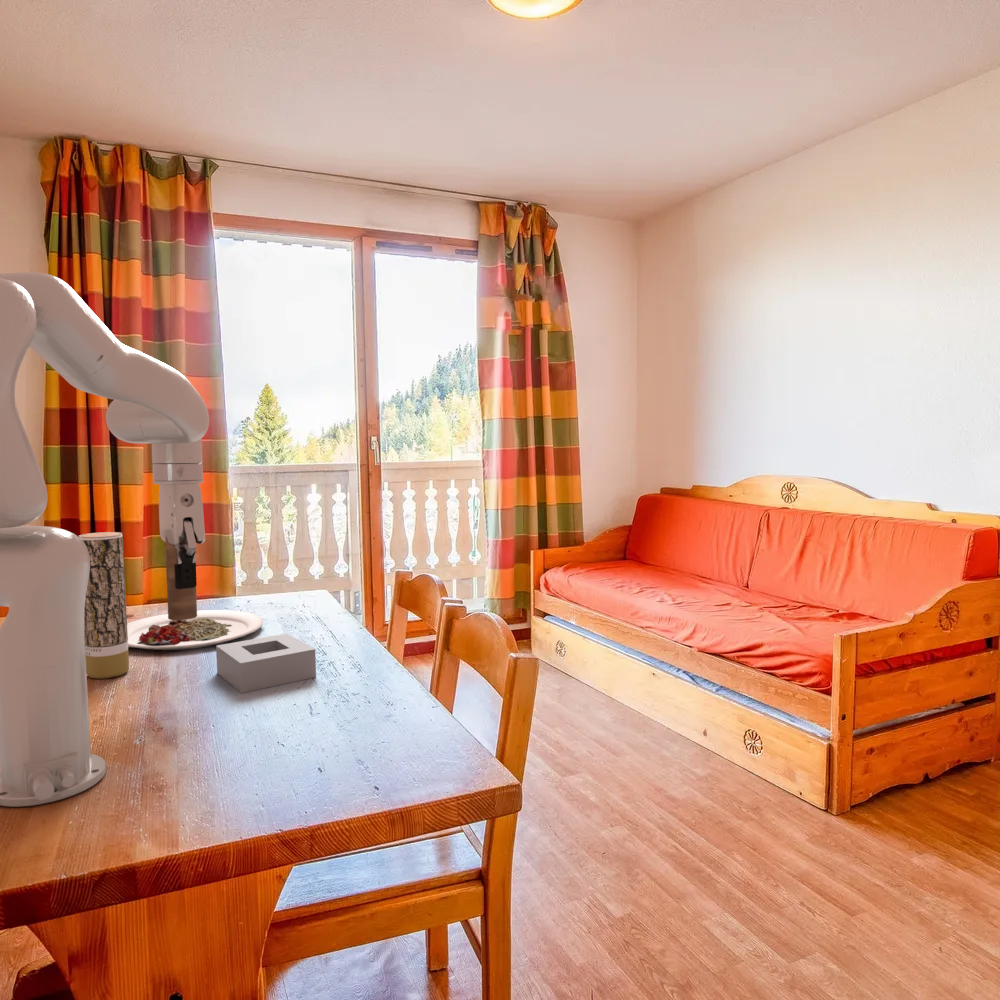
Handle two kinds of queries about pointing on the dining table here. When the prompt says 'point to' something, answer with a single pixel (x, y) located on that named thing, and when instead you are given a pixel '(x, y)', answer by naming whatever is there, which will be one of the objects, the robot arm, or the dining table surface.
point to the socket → (265, 662)
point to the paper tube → (105, 607)
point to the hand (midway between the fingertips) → (181, 584)
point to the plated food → (191, 630)
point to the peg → (178, 591)
